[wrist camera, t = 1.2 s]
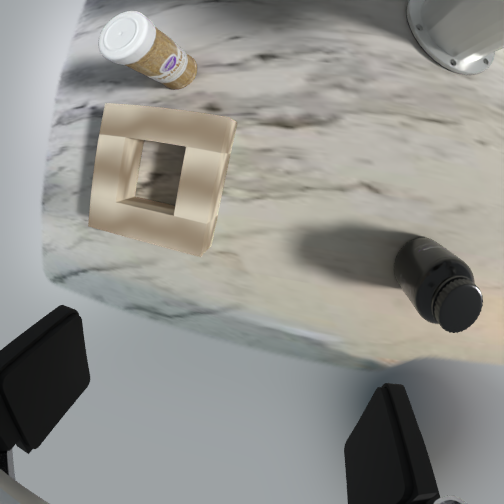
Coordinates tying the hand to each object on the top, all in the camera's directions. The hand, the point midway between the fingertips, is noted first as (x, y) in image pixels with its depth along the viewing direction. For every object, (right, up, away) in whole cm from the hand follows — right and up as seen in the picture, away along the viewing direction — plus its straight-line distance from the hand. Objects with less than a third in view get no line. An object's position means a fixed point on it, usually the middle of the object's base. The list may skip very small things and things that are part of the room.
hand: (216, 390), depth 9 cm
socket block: (-9, +13, +25) cm, 30 cm away
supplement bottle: (+21, +3, +25) cm, 32 cm away
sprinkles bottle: (-7, +25, +22) cm, 34 cm away
